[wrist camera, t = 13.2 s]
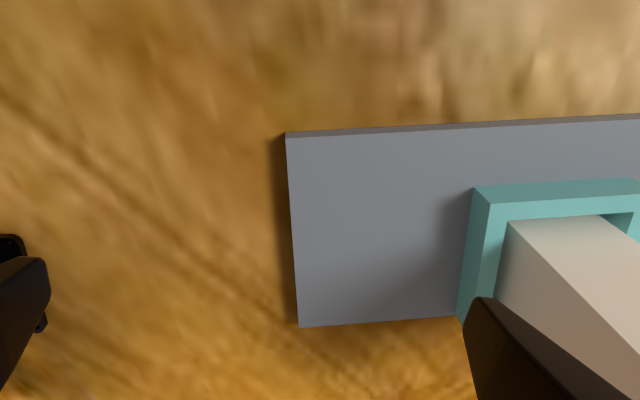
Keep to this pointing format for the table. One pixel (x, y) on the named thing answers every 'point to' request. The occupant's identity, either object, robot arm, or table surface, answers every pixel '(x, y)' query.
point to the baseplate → (441, 207)
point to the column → (577, 290)
